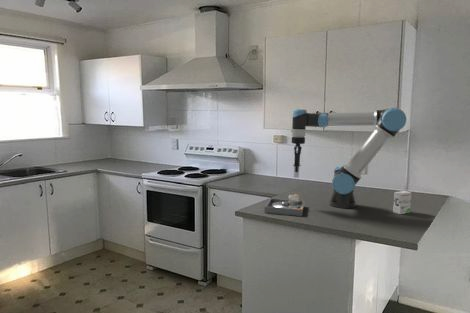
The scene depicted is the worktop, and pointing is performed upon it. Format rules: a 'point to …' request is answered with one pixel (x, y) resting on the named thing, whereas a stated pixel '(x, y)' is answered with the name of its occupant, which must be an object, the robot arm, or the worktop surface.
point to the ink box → (402, 202)
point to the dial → (290, 204)
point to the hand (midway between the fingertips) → (296, 177)
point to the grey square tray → (284, 210)
